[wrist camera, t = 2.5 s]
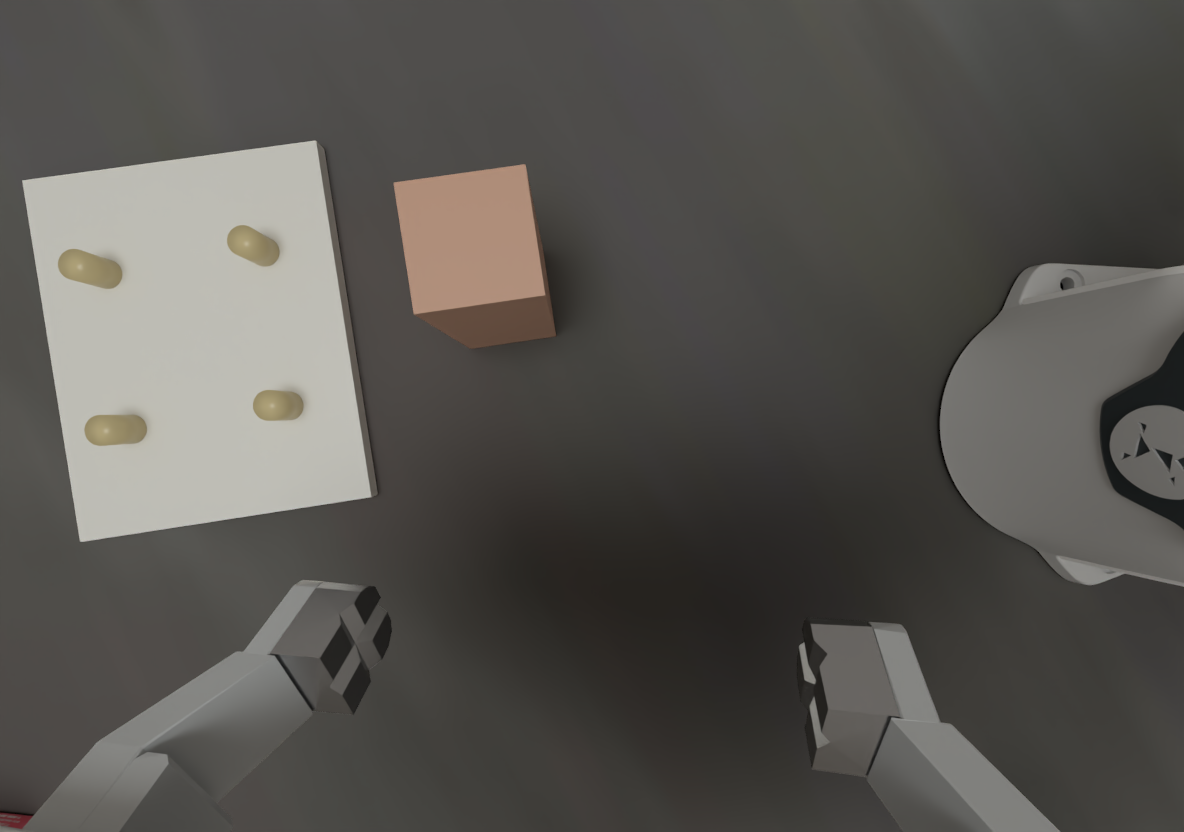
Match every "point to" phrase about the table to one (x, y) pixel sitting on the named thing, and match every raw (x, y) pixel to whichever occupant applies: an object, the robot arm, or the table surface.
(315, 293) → the mounting plate
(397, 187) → the terracotta block
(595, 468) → the table surface
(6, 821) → the ink box
